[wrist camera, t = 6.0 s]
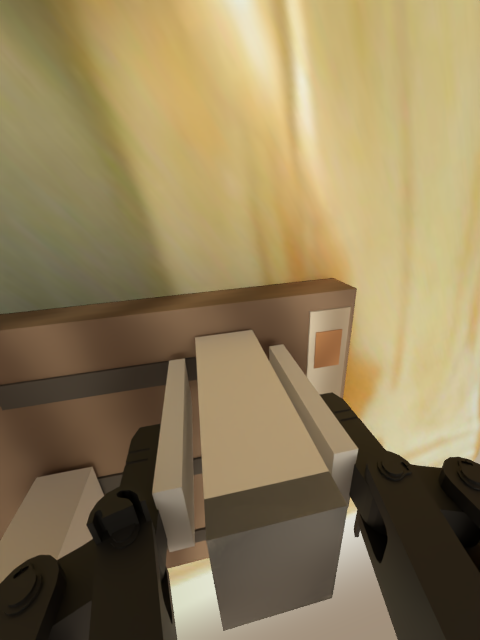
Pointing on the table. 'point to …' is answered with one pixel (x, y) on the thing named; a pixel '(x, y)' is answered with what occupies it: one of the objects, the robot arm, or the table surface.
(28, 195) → the table surface
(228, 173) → the table surface
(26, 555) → the tab
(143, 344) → the switch panel
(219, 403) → the tab
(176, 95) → the table surface
